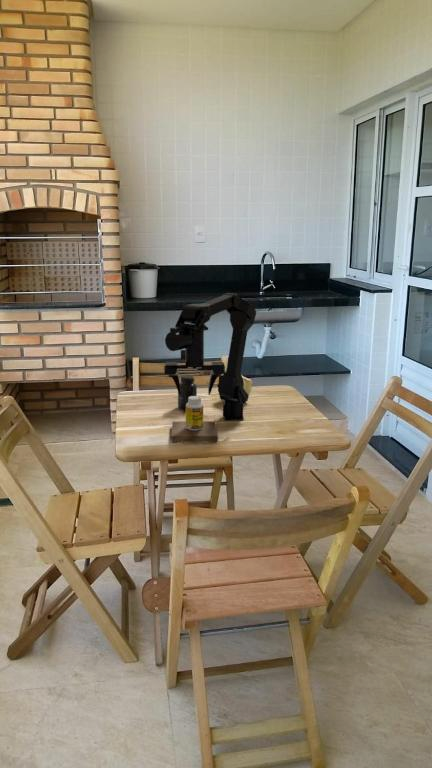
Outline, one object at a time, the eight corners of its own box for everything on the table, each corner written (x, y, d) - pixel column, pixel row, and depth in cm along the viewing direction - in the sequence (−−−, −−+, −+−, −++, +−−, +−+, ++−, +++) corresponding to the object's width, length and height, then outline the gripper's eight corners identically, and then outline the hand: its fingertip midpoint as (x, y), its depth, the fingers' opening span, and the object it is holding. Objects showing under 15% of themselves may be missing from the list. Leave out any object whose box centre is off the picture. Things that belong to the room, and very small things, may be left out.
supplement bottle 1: (174, 409, 213) (174, 377, 210) (182, 404, 219) (182, 373, 216) (192, 412, 210) (192, 379, 207) (199, 406, 216) (199, 375, 213)
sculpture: (255, 400, 225) (256, 373, 222) (239, 408, 215) (240, 379, 213) (229, 395, 231) (230, 369, 228) (213, 403, 221) (213, 375, 219)
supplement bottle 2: (191, 432, 183) (191, 401, 181) (182, 427, 188) (182, 396, 185) (206, 429, 186) (206, 398, 184) (197, 424, 191) (197, 394, 188)
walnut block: (214, 426, 195) (215, 421, 194) (217, 441, 181) (217, 435, 181) (172, 427, 194) (172, 421, 194) (171, 442, 181) (171, 436, 180)
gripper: (222, 340, 190) (222, 387, 194) (164, 341, 189) (165, 387, 193) (225, 347, 179) (224, 397, 183) (164, 348, 178) (164, 397, 182)
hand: (194, 394), depth 186 cm, fingers open, 9 cm apart
